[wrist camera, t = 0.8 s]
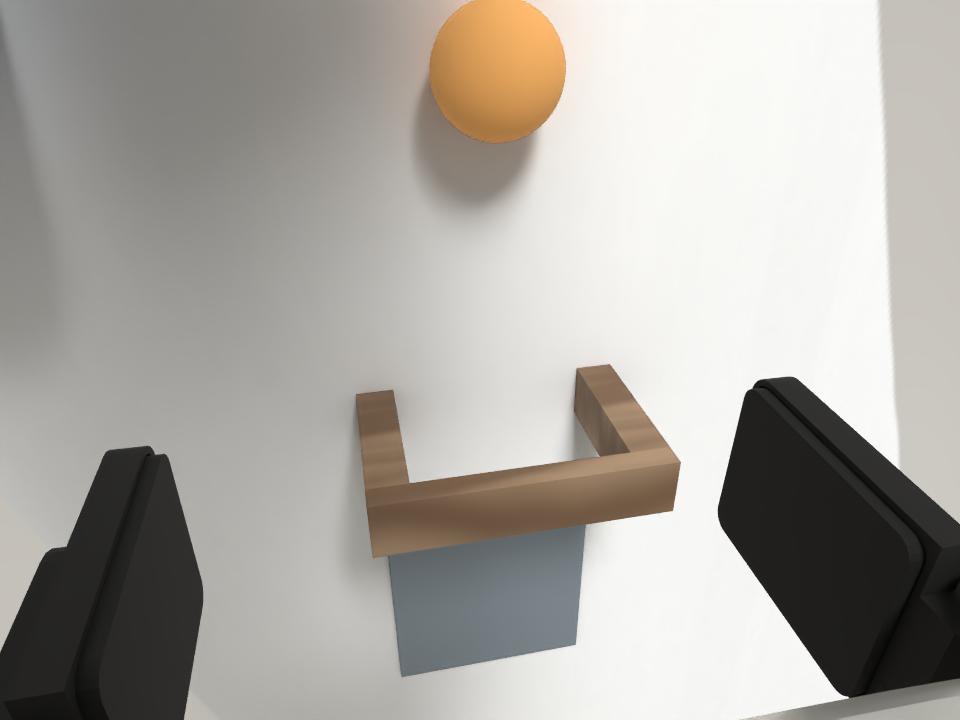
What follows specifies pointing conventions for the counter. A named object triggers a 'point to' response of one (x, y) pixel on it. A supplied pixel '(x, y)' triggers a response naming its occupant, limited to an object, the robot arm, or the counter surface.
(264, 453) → the counter surface
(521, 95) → the ball
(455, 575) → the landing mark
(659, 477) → the bridge
